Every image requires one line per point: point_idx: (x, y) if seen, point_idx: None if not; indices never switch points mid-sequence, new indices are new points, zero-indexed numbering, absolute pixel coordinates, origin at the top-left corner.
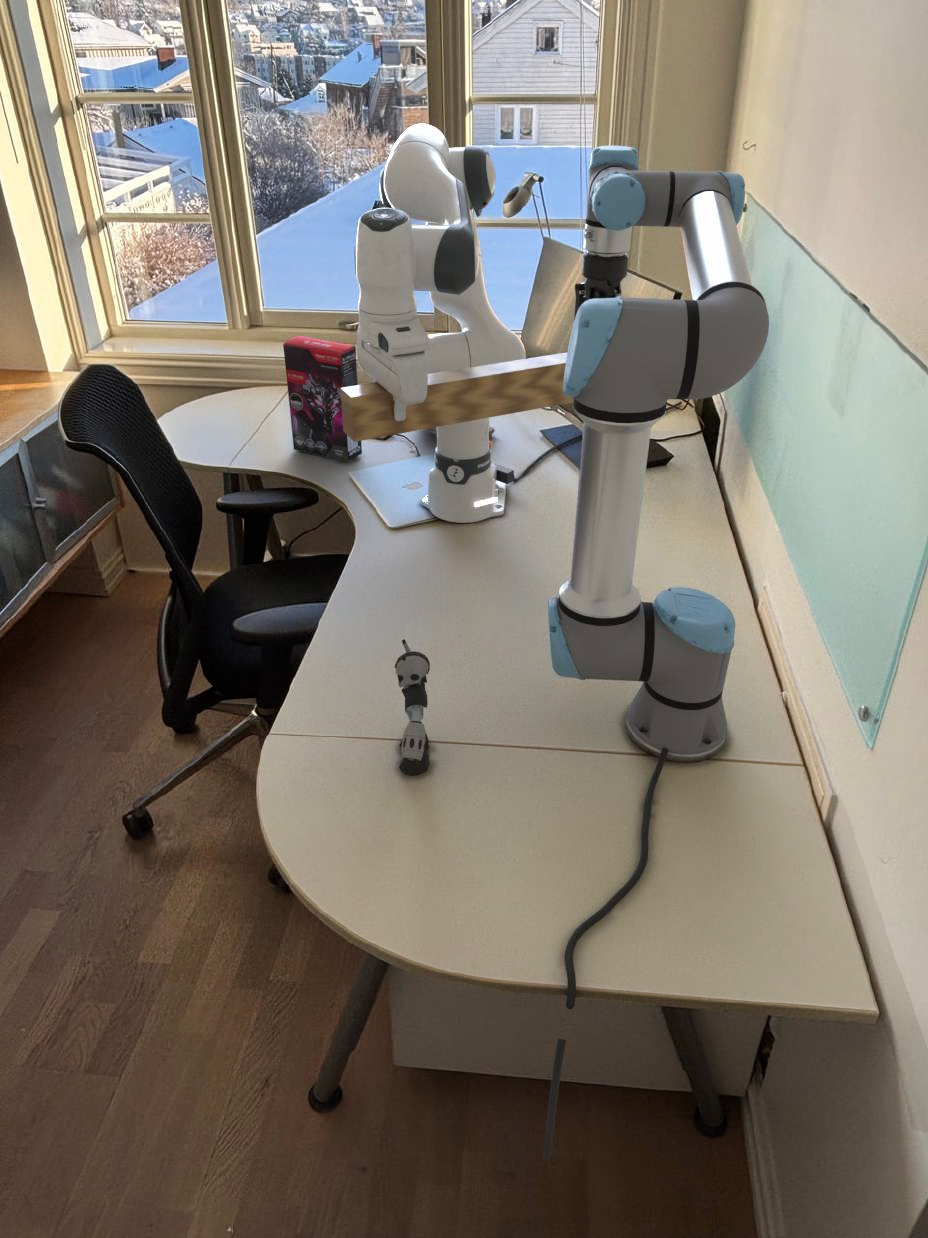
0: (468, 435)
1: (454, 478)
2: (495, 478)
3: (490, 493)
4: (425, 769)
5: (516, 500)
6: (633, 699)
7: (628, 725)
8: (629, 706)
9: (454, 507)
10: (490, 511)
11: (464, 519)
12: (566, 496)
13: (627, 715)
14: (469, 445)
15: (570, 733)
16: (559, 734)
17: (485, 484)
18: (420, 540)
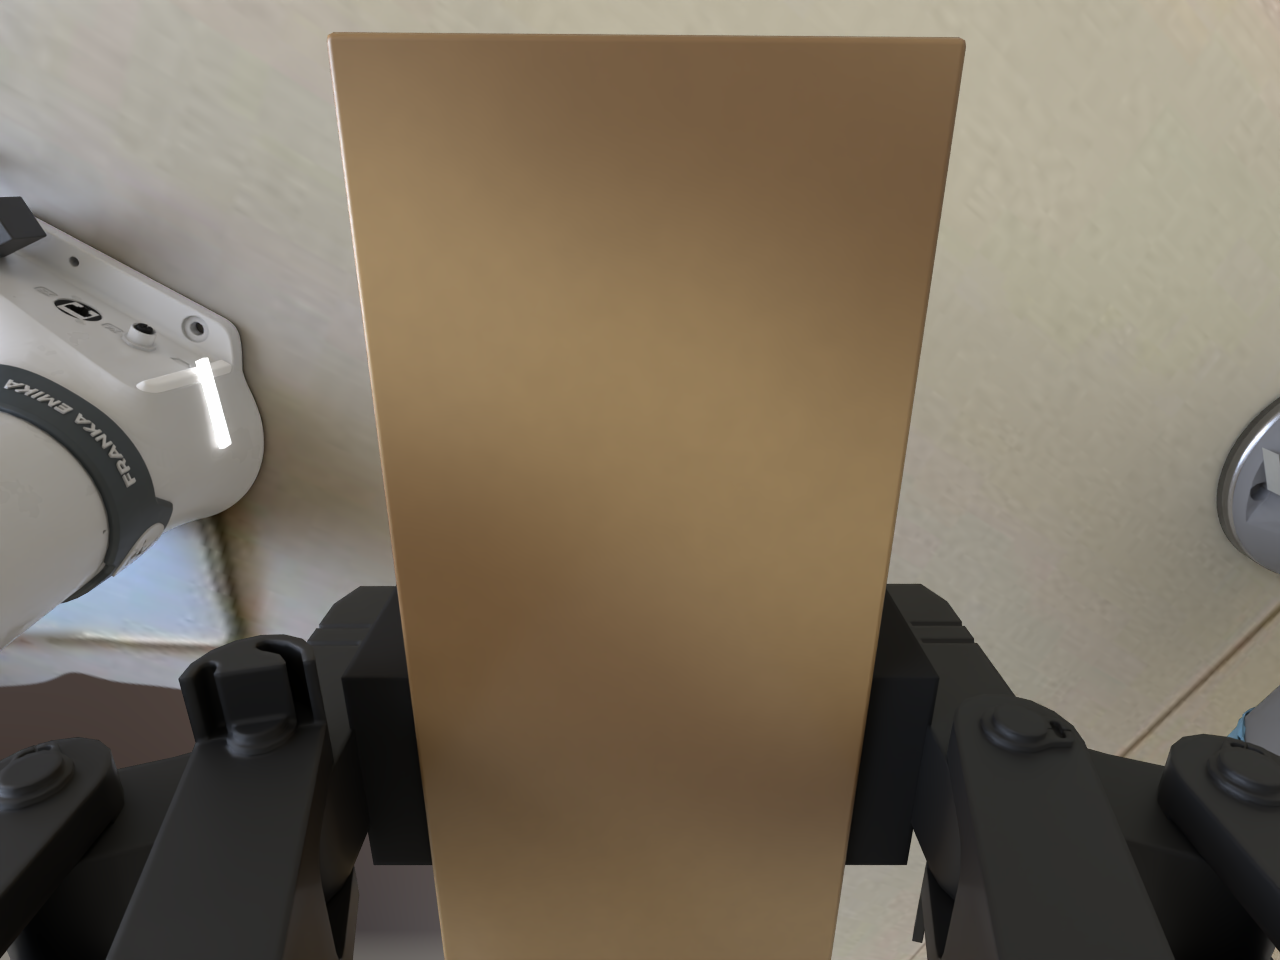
0: (33, 585)
1: (151, 544)
2: (42, 297)
3: (191, 393)
4: None
5: (135, 224)
6: (1275, 556)
7: (1275, 572)
8: (1255, 553)
9: (215, 501)
10: (231, 377)
11: (254, 465)
12: (142, 14)
13: (1260, 563)
14: (67, 558)
15: (1177, 651)
16: (1165, 668)
17: (169, 423)
18: (324, 604)
